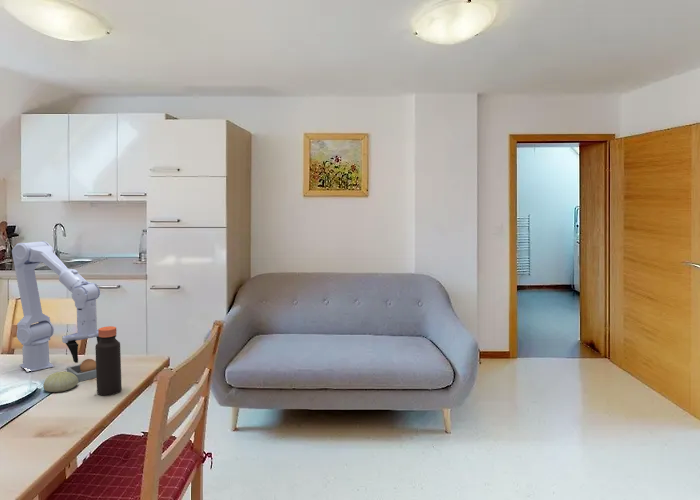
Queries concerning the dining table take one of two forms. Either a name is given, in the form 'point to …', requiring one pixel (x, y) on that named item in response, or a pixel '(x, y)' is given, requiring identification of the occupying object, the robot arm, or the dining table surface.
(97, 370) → the bottle
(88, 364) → the ball
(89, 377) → the corral
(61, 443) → the dining table surface
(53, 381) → the sea urchin shell
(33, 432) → the dining table surface
